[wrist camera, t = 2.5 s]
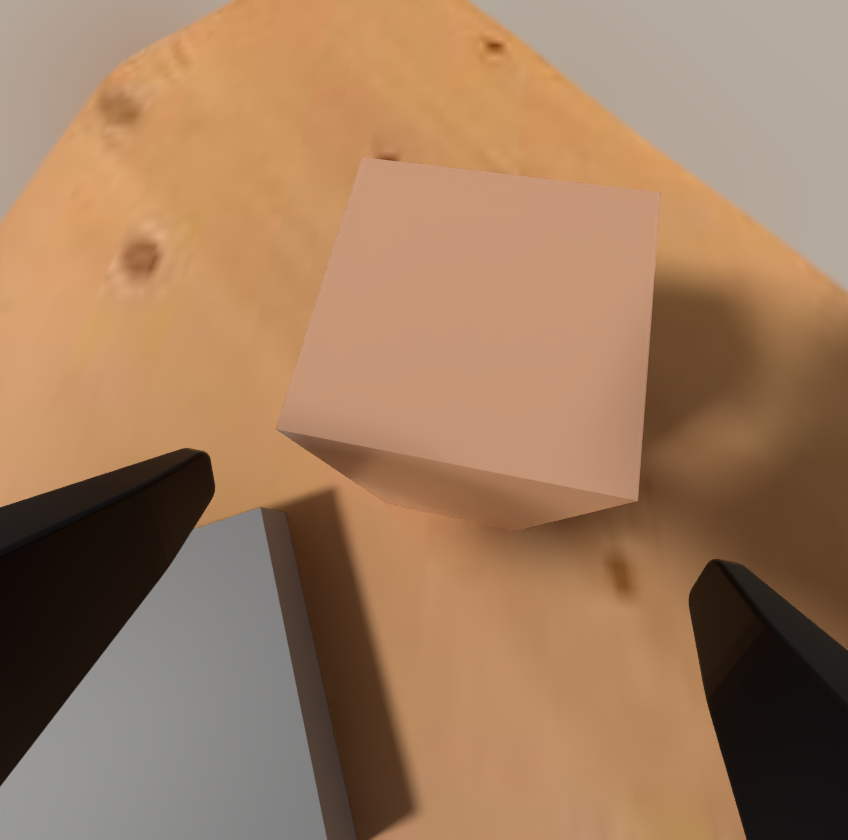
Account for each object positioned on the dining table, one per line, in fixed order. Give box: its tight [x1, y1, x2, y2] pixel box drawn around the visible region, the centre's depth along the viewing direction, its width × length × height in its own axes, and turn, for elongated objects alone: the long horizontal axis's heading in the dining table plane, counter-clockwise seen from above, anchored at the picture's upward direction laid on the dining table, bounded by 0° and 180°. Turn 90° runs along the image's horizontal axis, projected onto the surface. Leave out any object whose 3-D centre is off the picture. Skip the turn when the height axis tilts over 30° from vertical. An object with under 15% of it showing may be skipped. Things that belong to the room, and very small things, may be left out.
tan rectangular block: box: [276, 157, 661, 531], centre depth 13 cm, size 6×6×12 cm
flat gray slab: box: [0, 507, 357, 840], centre depth 15 cm, size 12×12×3 cm
